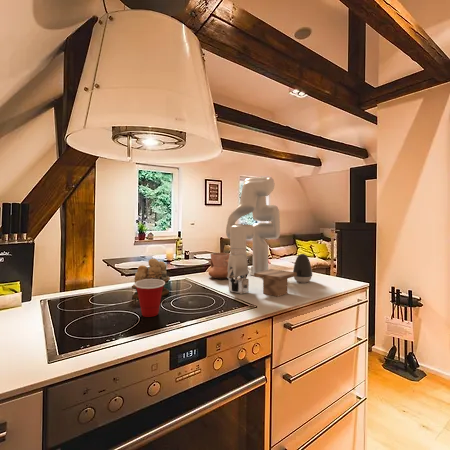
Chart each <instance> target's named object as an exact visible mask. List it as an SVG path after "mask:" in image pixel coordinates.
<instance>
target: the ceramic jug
mask: <svg viewBox="0 0 450 450" xmlns="http://www.w3.org/2000/svg"><path fill="white" fill-rule="evenodd" d="M229 255H230V252H229V253H228V252H213V253H212V252H211V253H210V261H209V264H210V269H209V270H208V275H209V277H211V278H213V279H218V280H223V279H224V280H225V279H228V278H227V276H228V260H229Z"/></svg>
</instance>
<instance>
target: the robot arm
mask: <svg viewBox="0 0 450 450" xmlns="http://www.w3.org/2000/svg"><path fill="white" fill-rule="evenodd" d="M241 188H242V189H241V193H240V200H239V205H238V206H237V207H236V208H235V209H233V211H232V212H231V213H230V214H229V215H228V219H227V223H226V227H225V228H226V229H225V235H226V238H228V239H229V242H230V244H229V246H230V249H229V253H230V255H229V260H228V276H227V278H226V279H228V281H229V280H230V281H231V283H232V291H235V292H234V293H236V292H237V291H238V283H237V277H241V278H246V279H248V278H247V277H248V275H249V274H250V276H253V277H255V276H254V273H257V272H261V271H265V270H269V244H268V243H267V241H266V240H269V239H270V240H277V239H279V238H280V236H281V220H280V217H281V216H280V209H279V207H278V206H277V205H274V204H271V205H270V204H267V199H266V197H268V196H270V195H271V194H272V193H273V191H274V189H275V180H274V178H273V177H272V176H261V177H259V176H257V177H247V178H246V179H245V180H244V181H243V185H242V187H241ZM249 214H251V215H252V219H253V220H254V221H256V222H257V223H254V224H252V225H251V224H246V223H245V224H241V223H236V222H237V221H238V220H240V219H241V218H242V217H244V216H247V215H249ZM247 240H248V241H249V240H252V266H249V263H248V262H249V261H248V255H247ZM234 277H235V280H234ZM232 291H231V292H232Z"/></svg>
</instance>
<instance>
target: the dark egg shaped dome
mask: <svg viewBox="0 0 450 450" xmlns="http://www.w3.org/2000/svg"><path fill="white" fill-rule="evenodd" d="M292 272H296V273H297V276H294V277H293V279H294V280H295V281H296V282H297V283H300V284H301V283H303V284H306V283H308V282H310V281H311V279H312V277H313V270H312V264H311V262H310V259H309V257H308V256H307V254H305V253H300V254H299V255H297V257H296V259H295V262H294V265H293V269H292Z"/></svg>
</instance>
